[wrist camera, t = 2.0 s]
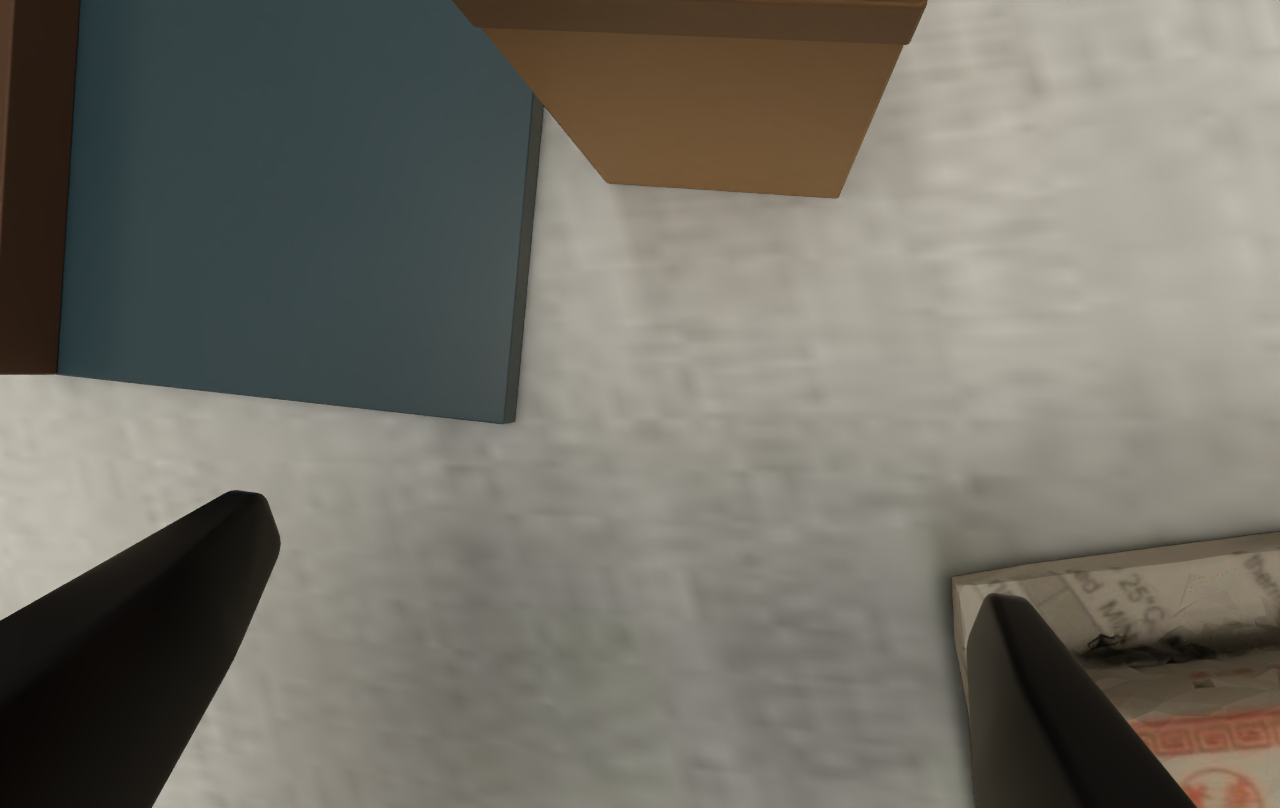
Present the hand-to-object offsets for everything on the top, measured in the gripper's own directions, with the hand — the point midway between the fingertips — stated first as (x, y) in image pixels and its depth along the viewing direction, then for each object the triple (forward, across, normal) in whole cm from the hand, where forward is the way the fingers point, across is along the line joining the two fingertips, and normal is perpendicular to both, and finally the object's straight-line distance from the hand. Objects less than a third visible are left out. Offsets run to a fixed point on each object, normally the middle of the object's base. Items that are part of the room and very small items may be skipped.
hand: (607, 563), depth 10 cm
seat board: (+16, +12, -2) cm, 20 cm away
